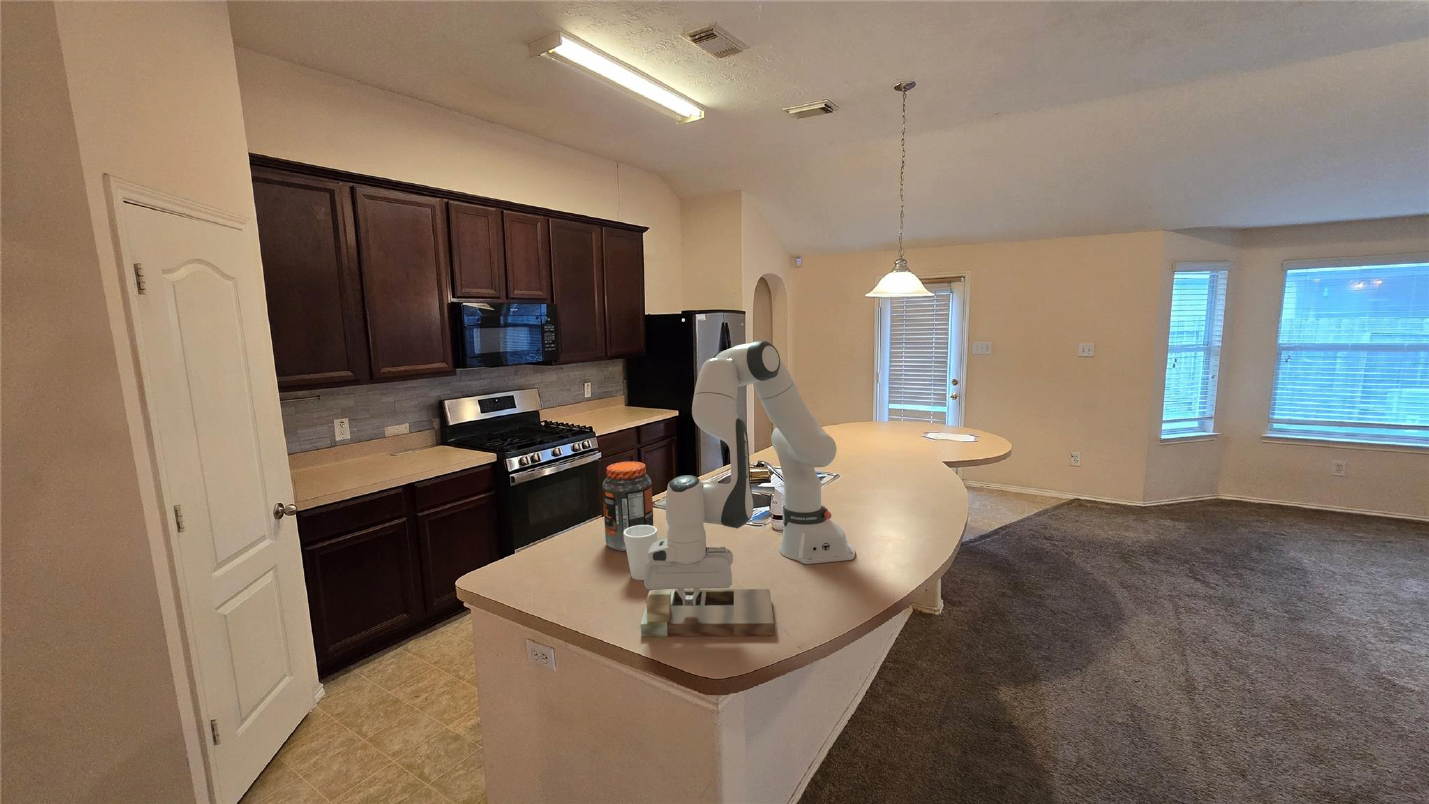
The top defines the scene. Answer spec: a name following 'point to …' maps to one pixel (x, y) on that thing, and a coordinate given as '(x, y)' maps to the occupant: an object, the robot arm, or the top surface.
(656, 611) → the maple block
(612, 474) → the supplement tub
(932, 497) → the top surface
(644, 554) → the foam cup
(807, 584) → the top surface
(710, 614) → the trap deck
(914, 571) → the top surface
